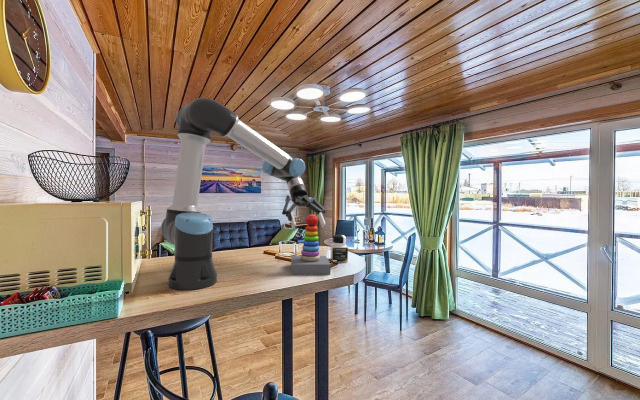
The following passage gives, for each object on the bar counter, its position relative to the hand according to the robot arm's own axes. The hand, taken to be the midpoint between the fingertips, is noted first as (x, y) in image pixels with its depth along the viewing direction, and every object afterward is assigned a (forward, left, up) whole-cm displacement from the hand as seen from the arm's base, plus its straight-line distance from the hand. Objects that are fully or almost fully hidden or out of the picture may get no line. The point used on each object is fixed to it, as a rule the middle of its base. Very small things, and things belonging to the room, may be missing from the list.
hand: (309, 226), depth 122 cm
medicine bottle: (+15, +12, -18) cm, 26 cm away
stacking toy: (0, -3, -14) cm, 14 cm away
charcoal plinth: (0, -3, -18) cm, 18 cm away
